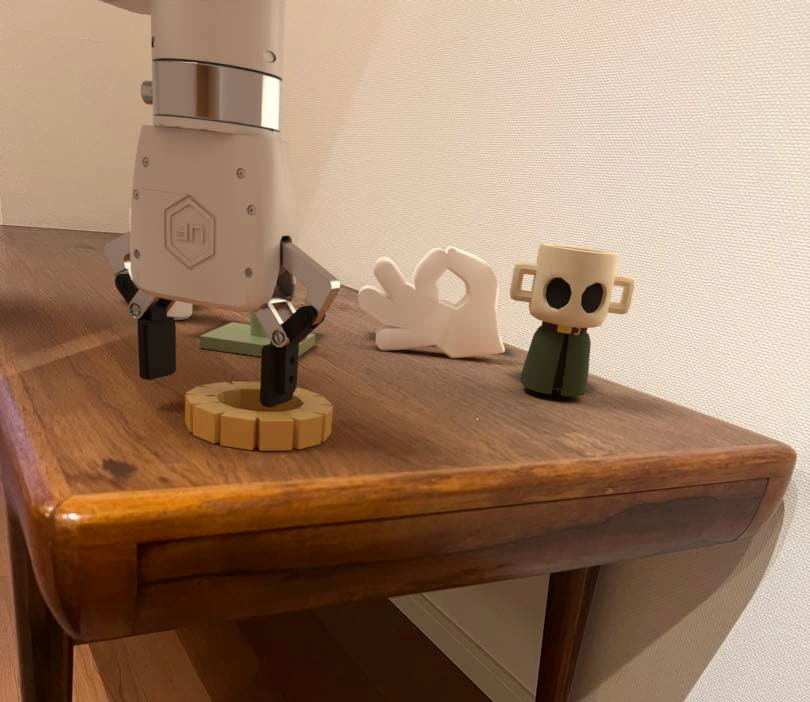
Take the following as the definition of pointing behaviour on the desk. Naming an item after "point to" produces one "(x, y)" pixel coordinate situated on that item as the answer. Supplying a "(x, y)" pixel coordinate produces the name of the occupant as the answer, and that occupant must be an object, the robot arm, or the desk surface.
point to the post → (244, 339)
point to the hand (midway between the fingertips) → (215, 389)
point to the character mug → (567, 312)
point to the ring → (256, 417)
